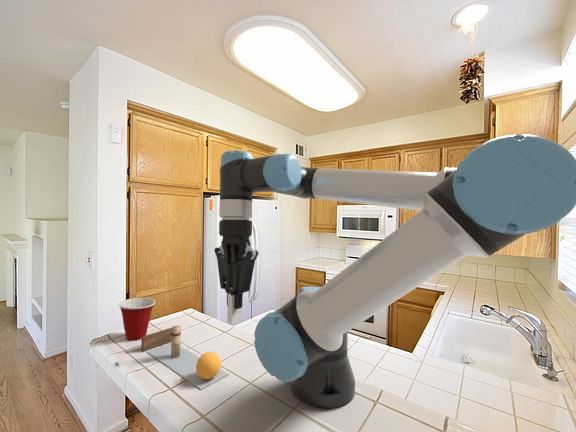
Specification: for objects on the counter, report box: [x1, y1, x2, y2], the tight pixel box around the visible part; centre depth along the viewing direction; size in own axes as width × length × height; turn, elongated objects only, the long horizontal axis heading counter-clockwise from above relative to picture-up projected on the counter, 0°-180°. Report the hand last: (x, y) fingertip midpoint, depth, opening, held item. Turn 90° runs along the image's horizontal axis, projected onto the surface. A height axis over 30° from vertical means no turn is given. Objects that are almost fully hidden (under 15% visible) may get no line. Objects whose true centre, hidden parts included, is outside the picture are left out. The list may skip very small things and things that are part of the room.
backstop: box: [140, 327, 172, 353], centre depth 82 cm, size 2×9×4 cm, turn 142°
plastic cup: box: [118, 297, 156, 342], centre depth 88 cm, size 11×11×12 cm
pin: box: [170, 325, 182, 358], centre depth 75 cm, size 2×2×8 cm
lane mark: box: [146, 342, 230, 391], centre depth 72 cm, size 28×8×1 cm, turn 52°
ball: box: [196, 351, 222, 379], centre depth 65 cm, size 6×6×6 cm
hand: (234, 321), depth 60 cm, fingers closed
